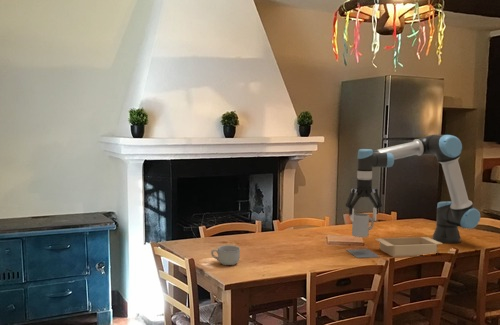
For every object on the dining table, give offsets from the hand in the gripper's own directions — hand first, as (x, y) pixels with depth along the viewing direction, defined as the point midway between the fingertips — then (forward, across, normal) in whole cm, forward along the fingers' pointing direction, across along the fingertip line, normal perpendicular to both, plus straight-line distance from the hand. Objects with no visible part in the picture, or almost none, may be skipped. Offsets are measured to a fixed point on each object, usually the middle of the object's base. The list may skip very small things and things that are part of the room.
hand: (363, 220), depth 247 cm
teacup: (+18, +73, +8) cm, 76 cm away
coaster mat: (+18, 0, 0) cm, 18 cm away
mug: (+8, 0, 0) cm, 8 cm away
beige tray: (+18, -25, 0) cm, 31 cm away
